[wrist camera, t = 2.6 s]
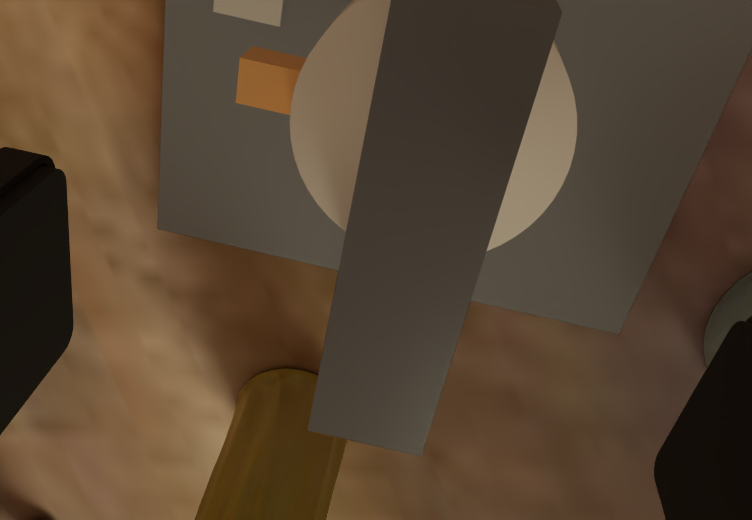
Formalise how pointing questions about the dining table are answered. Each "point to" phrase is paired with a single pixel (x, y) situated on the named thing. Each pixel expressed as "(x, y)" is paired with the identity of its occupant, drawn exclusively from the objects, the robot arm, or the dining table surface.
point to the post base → (547, 233)
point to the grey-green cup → (728, 315)
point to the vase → (273, 455)
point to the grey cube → (416, 182)
